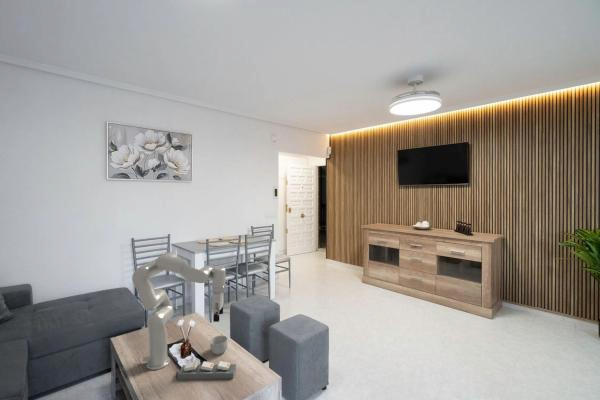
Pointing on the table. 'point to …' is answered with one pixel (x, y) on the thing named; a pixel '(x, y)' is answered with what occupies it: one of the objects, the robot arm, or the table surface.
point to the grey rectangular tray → (207, 373)
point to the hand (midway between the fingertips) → (218, 317)
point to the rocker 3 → (223, 365)
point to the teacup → (218, 344)
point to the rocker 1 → (190, 366)
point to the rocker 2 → (207, 366)
